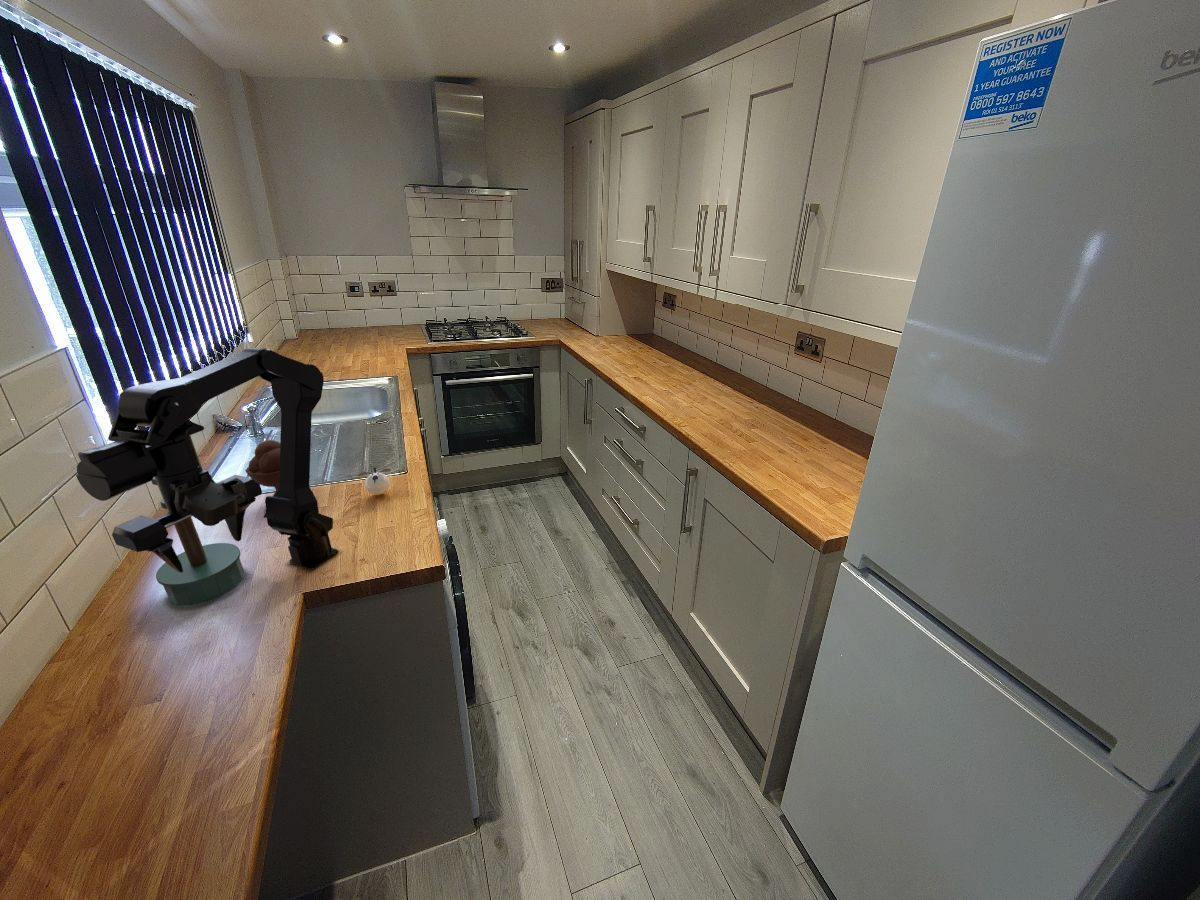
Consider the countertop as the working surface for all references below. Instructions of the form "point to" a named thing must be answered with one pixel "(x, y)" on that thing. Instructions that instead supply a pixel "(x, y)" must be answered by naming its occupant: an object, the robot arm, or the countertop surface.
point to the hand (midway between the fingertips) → (210, 555)
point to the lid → (197, 559)
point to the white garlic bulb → (376, 482)
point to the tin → (207, 587)
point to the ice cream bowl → (266, 464)
